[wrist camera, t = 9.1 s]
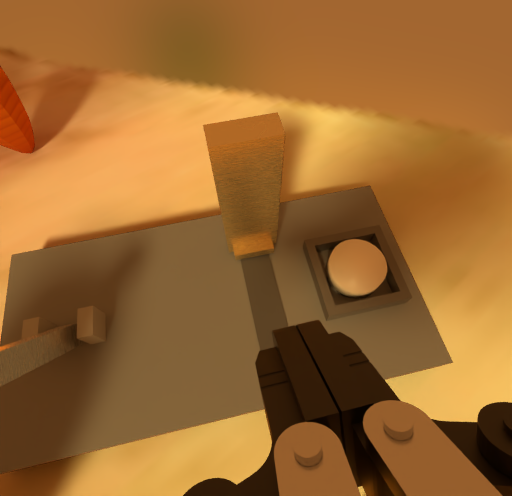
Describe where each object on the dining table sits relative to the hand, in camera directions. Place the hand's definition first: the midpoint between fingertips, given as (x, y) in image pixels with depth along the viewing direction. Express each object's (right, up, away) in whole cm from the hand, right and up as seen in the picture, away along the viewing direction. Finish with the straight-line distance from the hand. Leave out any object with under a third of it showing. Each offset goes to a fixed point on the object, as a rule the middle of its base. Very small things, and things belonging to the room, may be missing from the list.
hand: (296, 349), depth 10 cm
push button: (+5, +2, +10) cm, 11 cm away
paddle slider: (-2, +4, +10) cm, 11 cm away
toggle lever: (-12, -2, +8) cm, 14 cm away
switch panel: (-4, -1, +11) cm, 11 cm away
